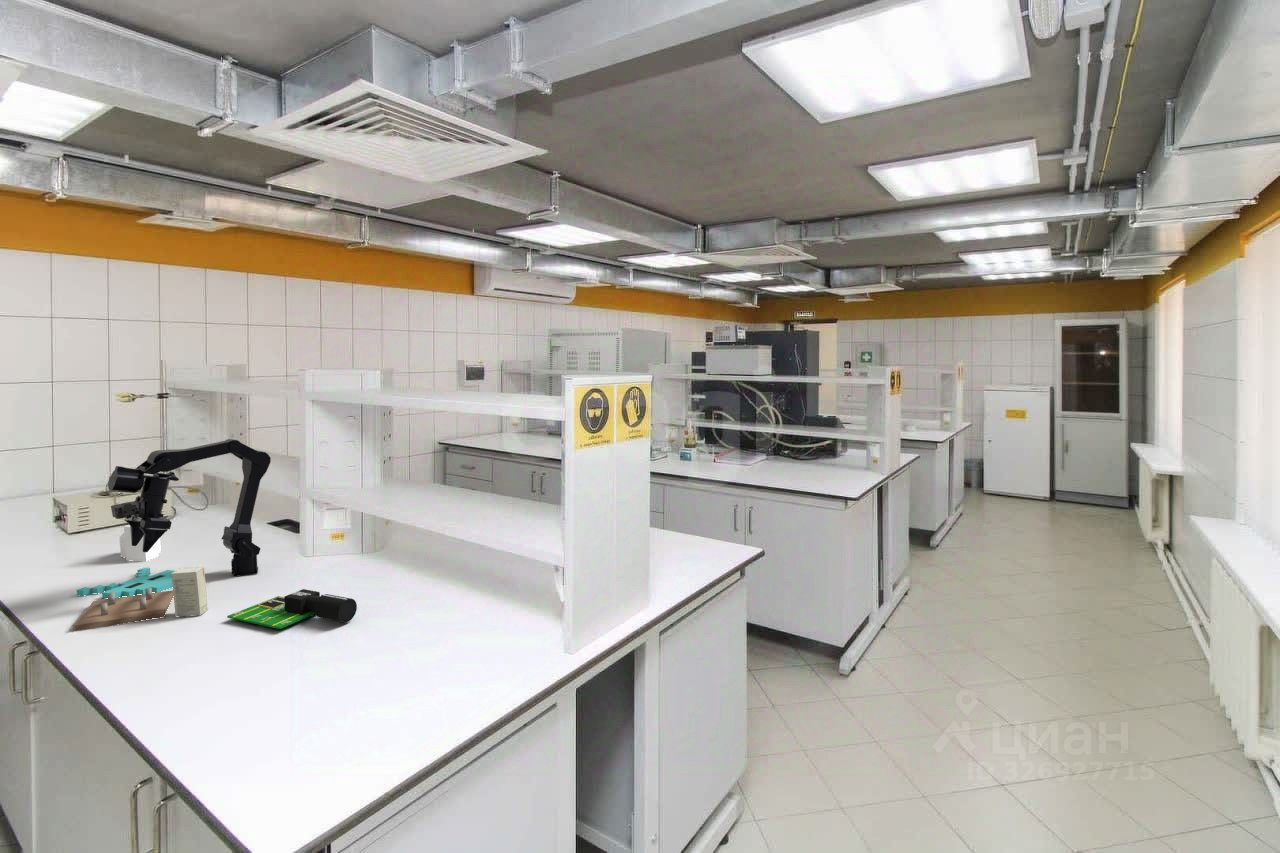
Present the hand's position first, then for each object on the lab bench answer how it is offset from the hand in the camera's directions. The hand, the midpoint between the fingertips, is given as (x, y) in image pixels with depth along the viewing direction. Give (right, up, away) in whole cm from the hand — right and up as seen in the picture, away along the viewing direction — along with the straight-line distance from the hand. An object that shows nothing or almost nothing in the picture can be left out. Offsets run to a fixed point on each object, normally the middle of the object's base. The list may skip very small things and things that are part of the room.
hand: (139, 548), depth 178 cm
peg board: (+4, -15, -9) cm, 18 cm away
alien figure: (-8, -14, +10) cm, 19 cm away
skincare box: (+21, -16, -9) cm, 28 cm away
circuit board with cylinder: (+51, -17, -12) cm, 55 cm away
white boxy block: (-29, -10, +38) cm, 49 cm away
